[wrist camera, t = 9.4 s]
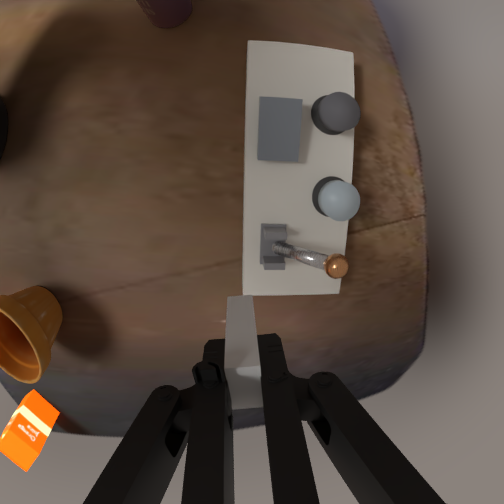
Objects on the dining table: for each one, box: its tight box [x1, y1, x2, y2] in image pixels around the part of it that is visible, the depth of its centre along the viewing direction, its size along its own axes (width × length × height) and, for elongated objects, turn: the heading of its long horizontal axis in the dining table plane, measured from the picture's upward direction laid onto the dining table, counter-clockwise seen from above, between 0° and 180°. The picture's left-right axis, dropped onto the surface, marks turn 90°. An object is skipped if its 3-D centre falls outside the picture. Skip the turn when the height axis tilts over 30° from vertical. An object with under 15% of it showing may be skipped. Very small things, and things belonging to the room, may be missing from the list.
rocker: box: [257, 96, 303, 162], centre depth 29 cm, size 4×7×1 cm, turn 179°
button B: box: [318, 180, 360, 221], centre depth 32 cm, size 4×4×2 cm
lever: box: [272, 241, 349, 279], centre depth 31 cm, size 3×3×10 cm
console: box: [242, 40, 354, 295], centre depth 33 cm, size 13×32×7 cm, turn 179°
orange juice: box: [0, 389, 60, 472], centre depth 41 cm, size 8×9×20 cm
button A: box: [317, 92, 360, 132], centre depth 28 cm, size 4×4×2 cm
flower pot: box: [0, 286, 63, 383], centre depth 35 cm, size 14×14×13 cm
